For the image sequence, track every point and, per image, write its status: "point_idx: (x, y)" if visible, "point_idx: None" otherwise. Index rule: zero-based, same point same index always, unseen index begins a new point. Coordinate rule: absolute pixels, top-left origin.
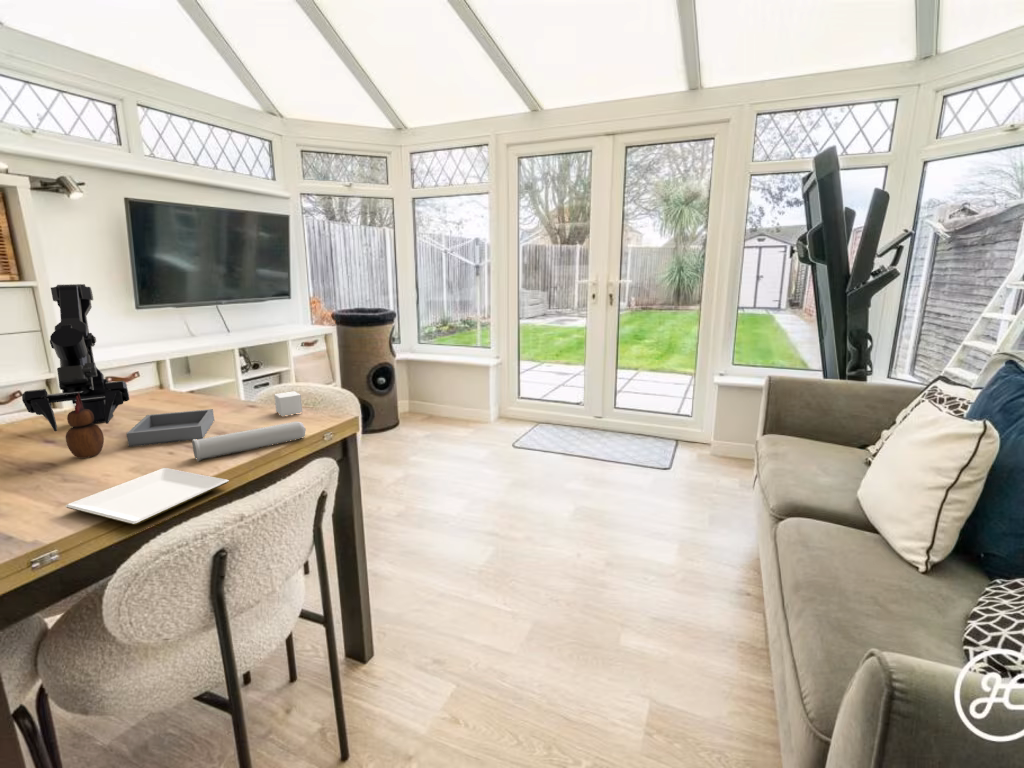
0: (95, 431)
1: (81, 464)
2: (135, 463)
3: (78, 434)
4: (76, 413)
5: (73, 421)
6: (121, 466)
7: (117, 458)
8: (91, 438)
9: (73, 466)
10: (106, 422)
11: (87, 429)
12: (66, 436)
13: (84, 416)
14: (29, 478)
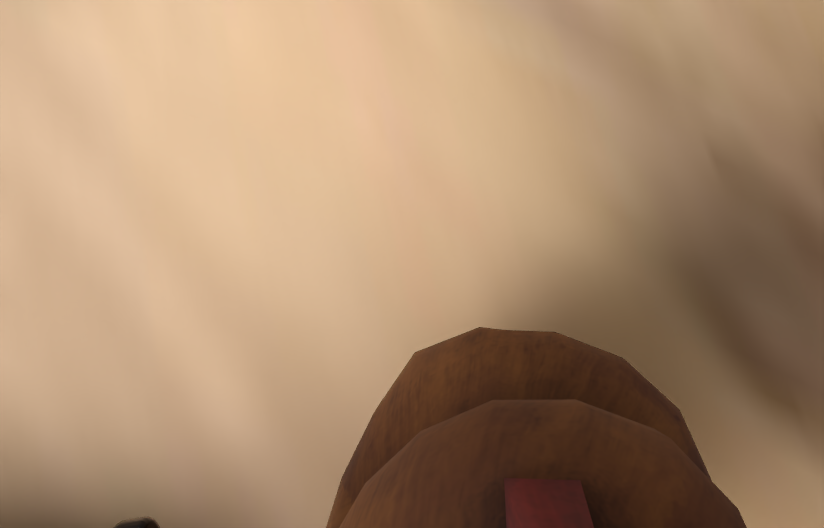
0: (345, 475)
1: (488, 229)
2: (71, 53)
3: (520, 345)
4: (552, 476)
5: (600, 409)
6: (163, 24)
7: (226, 264)
8: (395, 381)
9: (540, 201)
10: (147, 523)
11: (416, 419)
12: (692, 439)
13: (404, 463)
14: (798, 32)
